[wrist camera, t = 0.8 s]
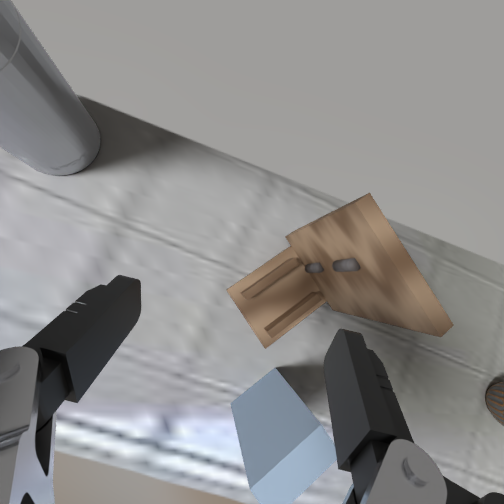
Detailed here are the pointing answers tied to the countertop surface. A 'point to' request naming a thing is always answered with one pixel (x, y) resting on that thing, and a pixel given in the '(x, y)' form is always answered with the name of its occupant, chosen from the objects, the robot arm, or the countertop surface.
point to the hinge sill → (340, 277)
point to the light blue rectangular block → (280, 441)
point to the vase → (496, 401)
